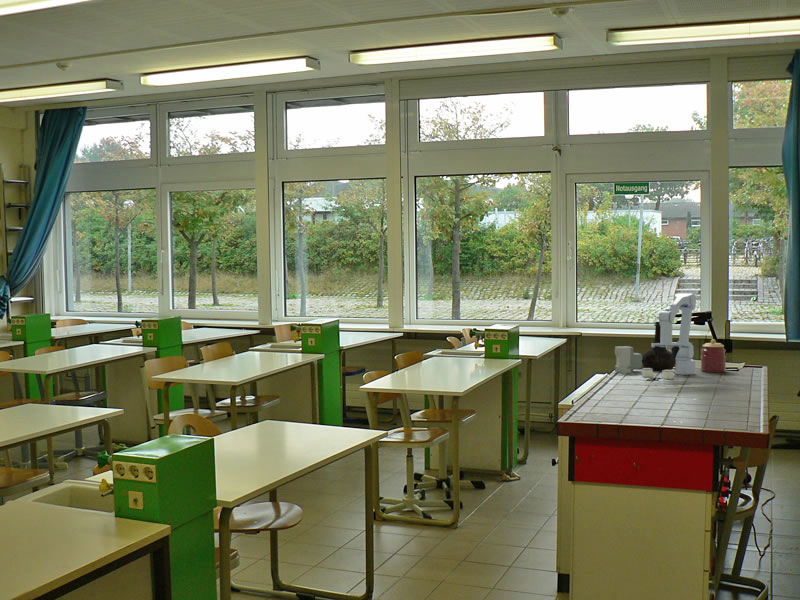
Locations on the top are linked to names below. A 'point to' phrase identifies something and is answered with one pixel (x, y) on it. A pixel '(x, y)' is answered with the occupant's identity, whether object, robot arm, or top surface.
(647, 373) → the slider
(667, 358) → the glass bottle
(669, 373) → the slider
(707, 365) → the canister
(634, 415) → the top surface
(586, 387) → the top surface
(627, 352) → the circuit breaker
